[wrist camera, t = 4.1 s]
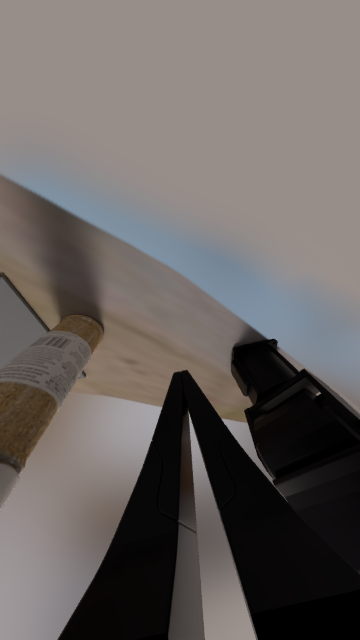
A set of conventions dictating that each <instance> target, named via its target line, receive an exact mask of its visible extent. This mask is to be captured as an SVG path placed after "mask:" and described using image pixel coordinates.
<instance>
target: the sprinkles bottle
mask: <svg viewBox="0 0 360 640" xmlns="http://www.w3.org/2000/svg"><path fill="white" fill-rule="evenodd" d="M102 339H103V330H102V327H101V326H100V325H99V324H98V323H97V322H96V321H95V320H93V319H92V318H90V317H87V316H84V315H70V316H67V317H66V318H63V319H62V320H61V322H60V323H59V324H58V325H57V326H56V327H54V328H53V329H52V330H51V331H50V332H48V333H46V334H44V335H43V336H41V337H40V338H39V339H37V340H36V341H35V342H34V343H32V344H31V345H30V346H28V347H27V348H26V349H25V350H23V351H22V352H21V353H19V354H18V355H17V356H16V357H14V358H13V359H12V360H11V361H9V362H8V363H7V364H6V365H4V366H3V367H2V368H0V511H1V510H2V508H3V506H4V505H5V503H6V501H7V500H8V498H9V496H10V495H11V493H12V491H13V490H14V488H15V486H16V485H17V483H18V481H19V474H20V473H21V472H22V471H23V469H24V467H25V463H26V460H27V458H28V457H29V455H30V454H31V452H32V451H33V449H34V448H35V446H36V445H37V442H38V441H39V439H40V438H41V436H42V435H43V433H44V431H45V430H46V428H47V427H48V425H49V424H50V422H51V420H52V418H53V416H54V415H55V414H56V413H57V412H58V410H59V409H60V407H61V405H62V404H63V402H64V400H65V399H66V397H67V396H68V394H69V392H70V391H71V389H72V387H73V386H74V384H75V383H76V381H77V379H78V378H79V376H80V374H81V373H82V371H83V369H84V368H85V366H86V365H87V363H88V361H89V360H90V358H91V355H92V353H93V352H94V350H95V348H96V347H97V345H98V344H99V343H100V342H101V341H102Z"/></svg>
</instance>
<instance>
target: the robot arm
mask: <svg viewBox="0 0 360 640" xmlns="http://www.w3.org/2000/svg"><path fill="white" fill-rule="evenodd" d="M277 343H278V342H277V340H275V339H270V340H266V341H261V342H257V343H252V344H248V345H243V346H239V347H235V348H234V349H233V357H232V361H231V373H232V375H233V377H234V378H235V380H236V382H237V384H238V386H239V388H240V390H241V391H242V393H243V395H244V396H248V397H249V398H250V400H251V402H252V404H253V406H251V407H250V408H247V409H245V410H244V412H245V415H246V419H247V422H248V425H249V429H250V432H251V436H252V439H253V442H254V446H255V449H256V452H257V456H258V458H259V459H260V461H261V462H262V464H263V466H264V467H265V469H266V471H267V472H268V473H269V475H270V476H271V477H272V478H273V479H274V480H273V483H274V485H275V487H276V488H277V489H278V490H279V491H280V492H281V493H282V495H283V496H284V497H285V498H286V500H287V501H288V502H287V501H286V500H285V498H284V497H283V496H282V495H281V494H280V493H279V491H278V490H277V489H276V488H275V487H274V485H272V483H271V482H270V481H269V480H268V478H267V477H266V476H265V475H264V474H263V472H262V471H261V470H260V469H259V468H258V467H257V465H256V464H255V463H254V462H253V461H252V459H251V458H250V457H249V456H248V455H247V453H246V452H245V451H244V450H243V448H242V447H241V446H240V444H239V443H238V442H237V440H236V439H235V438H234V436H233V435H232V434H231V432H230V431H229V429H228V428H227V426H226V425H225V424H224V422H223V421H222V419H221V418H220V416H219V415H218V413H217V412H216V411H215V409H214V408H213V406H212V405H211V403H210V402H209V400H208V399H207V398H206V396H205V395H204V393H203V392H202V390H201V389H200V387H199V386H198V385H197V383H196V382H195V380H194V379H193V377H192V376H191V374H190V373H189V372H188V370H184V371H181V372H175V373H174V374H173V376H172V379H171V382H170V386H169V389H168V392H167V395H166V398H165V401H164V404H163V407H162V410H161V413H160V416H159V419H158V423H157V425H156V429H155V431H154V435H153V438H152V441H151V443H150V447H149V450H148V453H147V455H146V458H145V461H144V464H143V467H142V469H141V472H140V475H139V477H138V480H137V482H136V485H135V487H134V489H133V492H132V494H131V497H130V499H129V501H128V504H127V506H126V508H125V511H124V513H123V516H122V518H121V520H120V523H119V525H118V528H117V530H116V533H115V535H114V537H113V539H112V542H111V544H110V546H109V548H108V550H107V553H106V555H105V557H104V559H103V561H102V563H101V565H100V567H99V569H98V571H97V573H96V574H95V576H94V578H93V580H92V582H91V584H90V585H89V587H88V589H87V590H86V592H85V594H84V595H83V597H82V599H81V600H80V602H79V604H78V606H77V607H76V609H75V611H74V613H73V614H72V616H71V618H70V619H69V621H68V623H67V625H66V626H65V628H64V629H63V631H62V633H61V634H60V636H59V638H58V640H205V637H204V623H203V609H202V595H201V581H200V567H199V553H198V539H197V533H196V532H197V525H196V511H195V497H194V483H193V470H192V454H191V440H190V426H189V414H190V417H191V420H192V424H193V427H194V430H195V434H196V437H197V441H198V444H199V447H200V451H201V454H202V457H203V461H204V464H205V468H206V471H207V475H208V478H209V481H210V484H211V488H212V491H213V495H214V498H215V502H216V505H217V508H218V512H219V515H220V518H221V522H222V525H223V529H224V532H225V535H226V539H227V542H228V546H229V549H230V552H231V556H232V559H233V563H234V566H235V569H236V573H237V576H238V579H239V582H240V586H241V590H242V593H243V596H244V599H245V603H246V607H247V610H248V613H249V617H250V620H251V623H252V627H253V630H254V634H255V637H256V640H360V414H359V413H358V412H357V411H356V410H355V409H353V408H352V407H351V406H350V405H349V404H348V403H347V402H346V401H345V400H344V399H343V398H342V397H340V396H339V395H338V394H337V393H336V392H335V391H333V390H332V389H331V388H330V387H329V386H327V385H326V384H325V383H324V382H323V381H321V380H320V379H318V378H317V377H316V376H314V375H313V374H311V373H310V372H308V371H307V370H306V369H302V370H301V371H300V372H299V371H298V370H297V369H296V368H295V367H294V366H293V365H292V364H291V363H290V362H289V361H287V360H286V359H285V358H284V357H283V356H282V355H281V354H280V353H279V352H278V351H277V350H276V347H277ZM318 392H321V394H320V395H318V396H317V395H316V393H318ZM188 410H189V413H188Z"/></svg>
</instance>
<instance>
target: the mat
mask: <svg viewBox="0 0 360 640" xmlns="http://www.w3.org/2000/svg"><path fill="white" fill-rule="evenodd" d="M48 332H50V331H49V330H48V328H47V327H46V326H45V325H44V324H43V322H42V321H41V320H40V319H39V317H38V316H37V315H36V314H35V313H34V311H33V310H32V309H31V308H30V306H29V305H28V304H27V303H26V302H25V300H24V299H23V298H22V297H21V295H20V294H19V293H18V292H17V290H16V289H15V288H14V287H13V286H12V284H11V283H10V282H9V281H8V279H7V278H6V277H5V276H4V277H0V368H2V367H3V366H4V365H6V364H7V363H8V362H9V361H11V360H12V359H13V358H14V357H16V356H17V355H18V354H19V353H21V352H22V351H23V350H25V349H26V348H27V347H28V346H30V345H31V344H32V343H34V342H35V341H36V340H37V339H39V338H40V337H41V336H43V335H44V334H46V333H48ZM85 377H86V375H85V374H84V373H83V371H82V373H81V374H80V376H79V378H78V379H81V378H85Z"/></svg>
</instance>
